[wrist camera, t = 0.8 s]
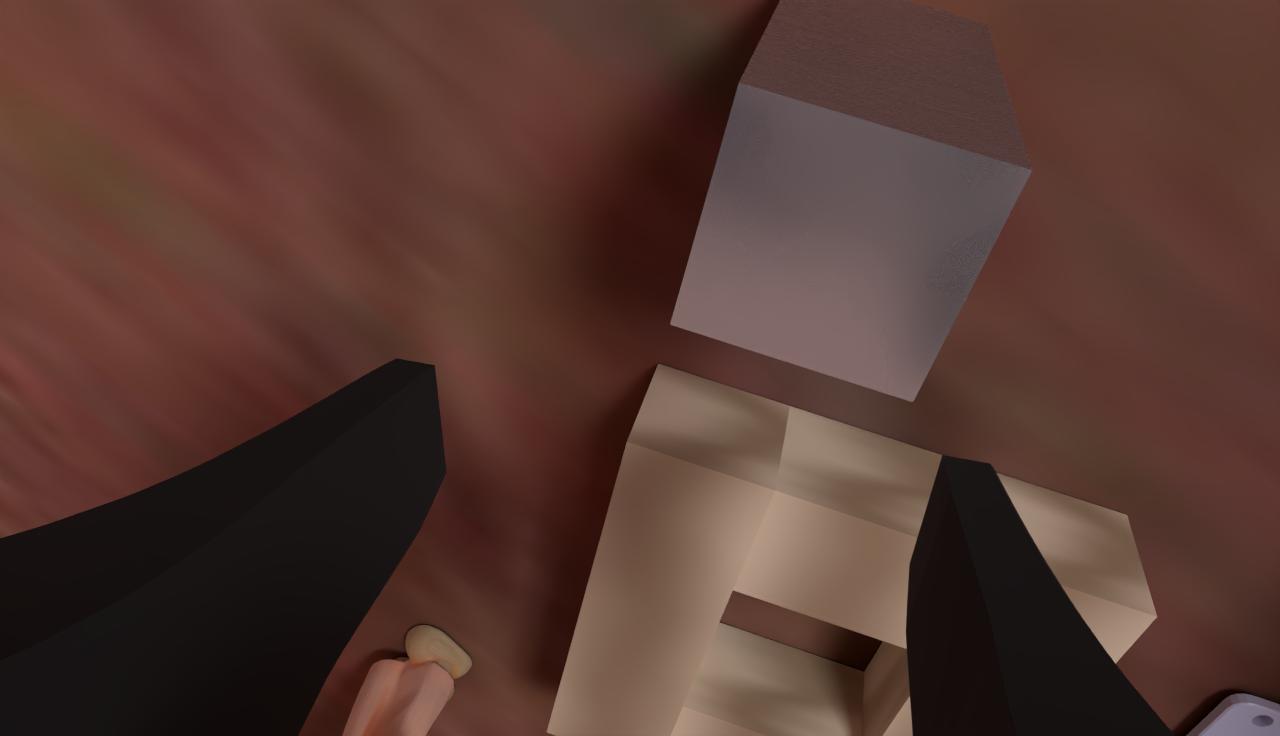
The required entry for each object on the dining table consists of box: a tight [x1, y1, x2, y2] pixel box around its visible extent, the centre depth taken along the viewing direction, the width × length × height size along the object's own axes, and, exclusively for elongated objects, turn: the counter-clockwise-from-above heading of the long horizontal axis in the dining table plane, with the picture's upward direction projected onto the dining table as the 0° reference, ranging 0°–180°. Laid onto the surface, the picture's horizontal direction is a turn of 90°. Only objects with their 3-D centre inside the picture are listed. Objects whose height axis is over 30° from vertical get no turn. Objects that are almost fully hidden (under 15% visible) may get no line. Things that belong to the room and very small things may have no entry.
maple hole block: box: [547, 364, 1157, 736], centre depth 27 cm, size 13×13×4 cm
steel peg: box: [670, 0, 1032, 402], centre depth 16 cm, size 4×4×8 cm
